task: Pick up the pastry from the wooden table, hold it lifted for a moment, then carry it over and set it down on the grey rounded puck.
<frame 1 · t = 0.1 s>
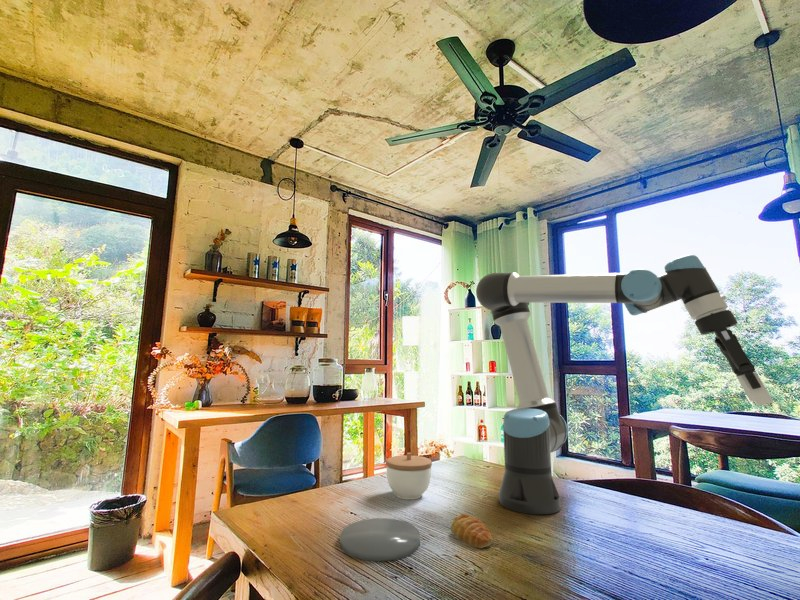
hand: (761, 402, 87), 28 cm above the table, tool tilted 20°, fingers open, 13 cm apart
lidded bowl: (408, 496, 107), on the table
grey rounded puck: (380, 541, 78), on the table
pastry: (472, 540, 80), on the table
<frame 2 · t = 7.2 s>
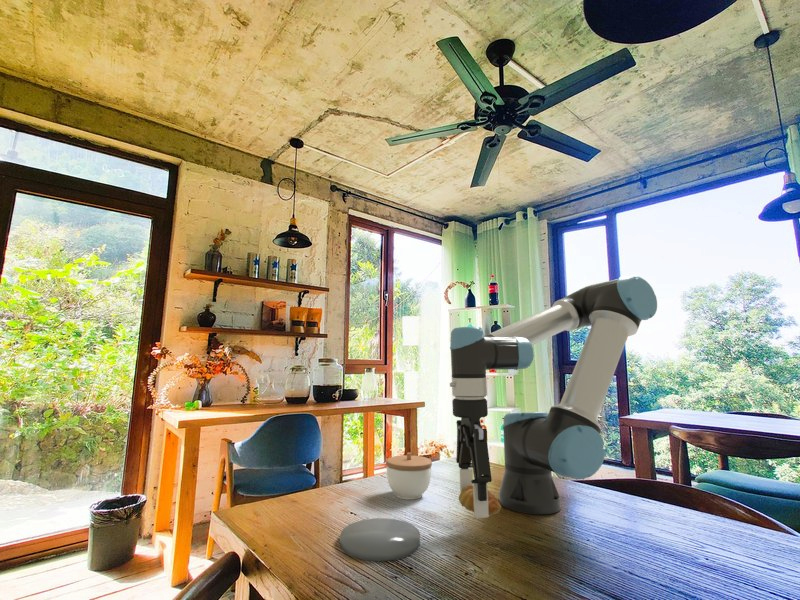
hand: (473, 508, 81), 6 cm above the table, tool pointing down, fingers closed on pastry, 9 cm apart
pastry: (480, 509, 82), point 5 cm above the table, touching gripper
everything else where it was.
when the fingers open (2 cm above the table, at t = 13.0 s): pastry stays where it is, resting on grey rounded puck.
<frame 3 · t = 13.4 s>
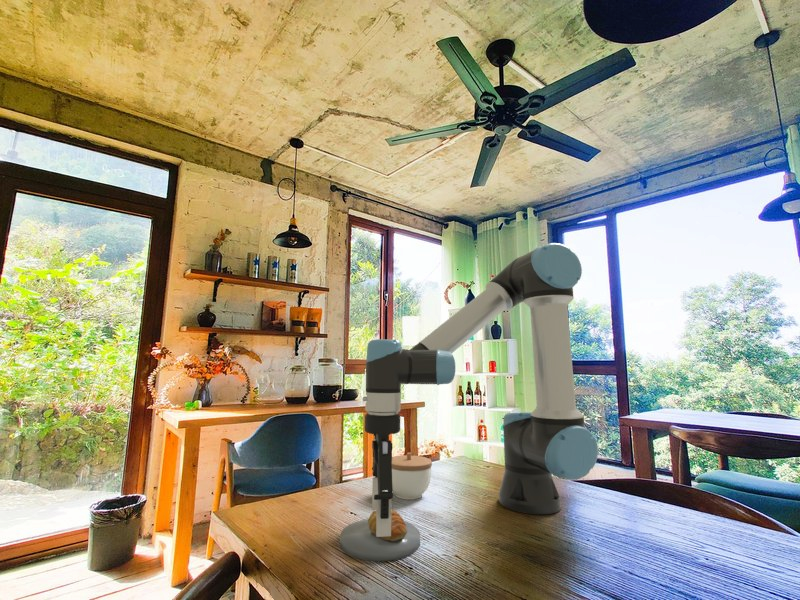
hand: (380, 521, 79), 4 cm above the table, tool pointing down, fingers open, 13 cm apart
pastry: (388, 533, 79), point 1 cm above the table, touching grey rounded puck
everything else where it was.
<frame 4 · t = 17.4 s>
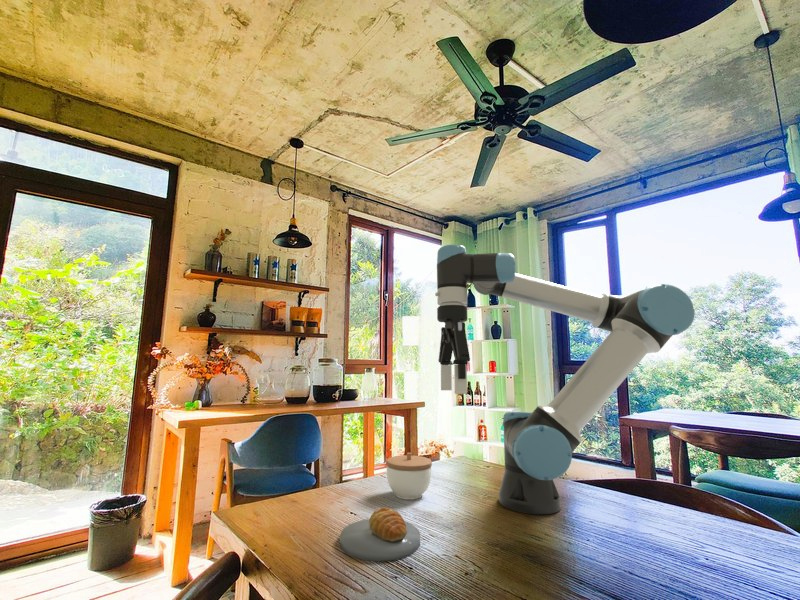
hand: (453, 392, 95), 29 cm above the table, tool pointing down, fingers open, 13 cm apart
nothing on the table moved.
at the end: pastry inside the target area on the grey rounded puck (1.8 cm from its centre), point 1.3 cm above the grey rounded puck's base; pastry touching grey rounded puck; the gripper is holding nothing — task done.
